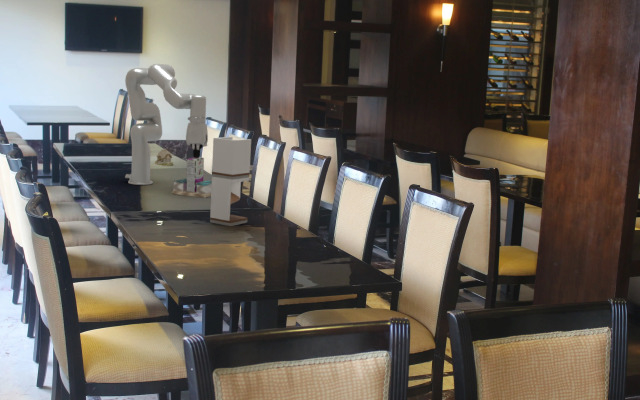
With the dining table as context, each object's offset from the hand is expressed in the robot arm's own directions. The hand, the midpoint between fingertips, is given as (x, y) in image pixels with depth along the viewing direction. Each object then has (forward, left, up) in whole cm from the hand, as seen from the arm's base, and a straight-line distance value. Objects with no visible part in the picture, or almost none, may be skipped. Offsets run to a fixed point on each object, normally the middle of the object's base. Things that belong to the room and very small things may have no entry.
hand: (196, 157), depth 396 cm
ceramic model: (-67, +91, -19) cm, 115 cm away
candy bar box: (-1, 0, -17) cm, 17 cm away
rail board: (0, 0, -18) cm, 18 cm away
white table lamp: (+44, -56, -19) cm, 73 cm away
